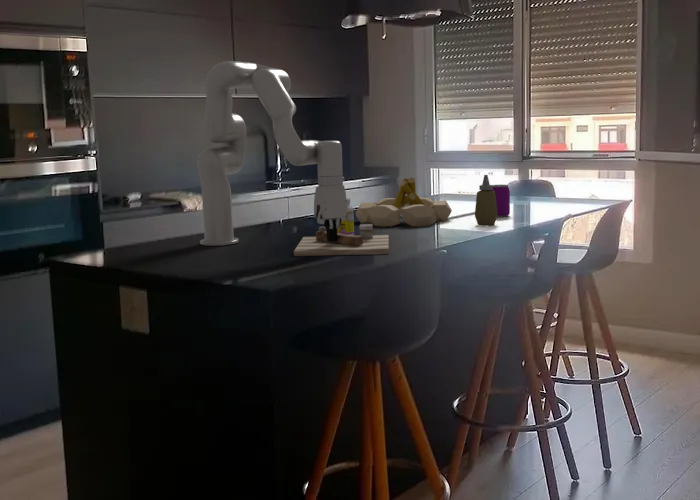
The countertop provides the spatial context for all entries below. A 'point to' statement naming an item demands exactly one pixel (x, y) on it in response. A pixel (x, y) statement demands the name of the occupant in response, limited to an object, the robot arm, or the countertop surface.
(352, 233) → the supplement bottle
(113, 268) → the countertop surface
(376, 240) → the hinge board
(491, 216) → the squeeze bottle
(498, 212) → the beverage can
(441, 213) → the campfire
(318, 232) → the link
